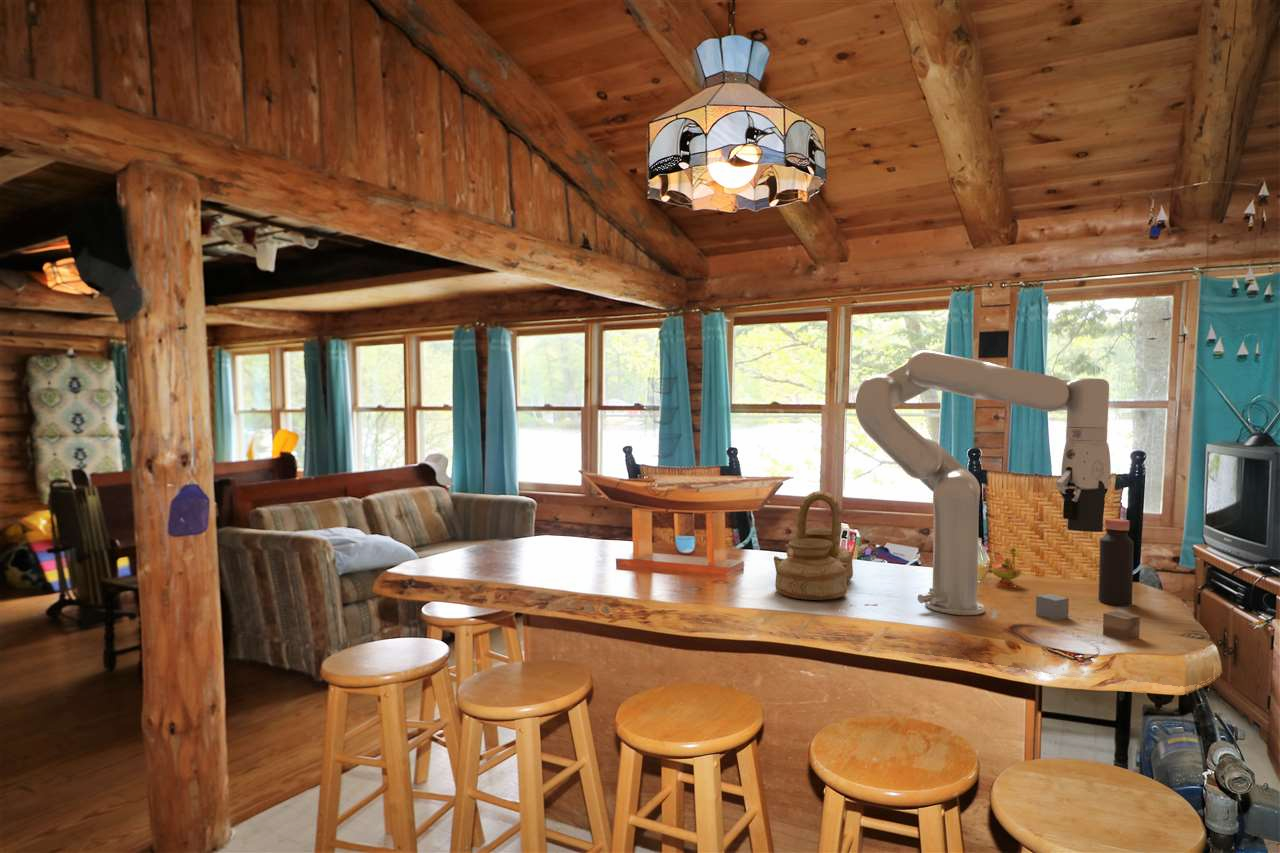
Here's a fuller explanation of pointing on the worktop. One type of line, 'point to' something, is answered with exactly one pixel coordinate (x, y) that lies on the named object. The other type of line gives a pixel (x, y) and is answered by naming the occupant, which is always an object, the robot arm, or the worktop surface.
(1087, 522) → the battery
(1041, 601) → the grey block
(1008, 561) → the flower arrangement
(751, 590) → the worktop surface
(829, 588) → the ceramic vessel
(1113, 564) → the bottle
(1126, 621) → the walnut block
